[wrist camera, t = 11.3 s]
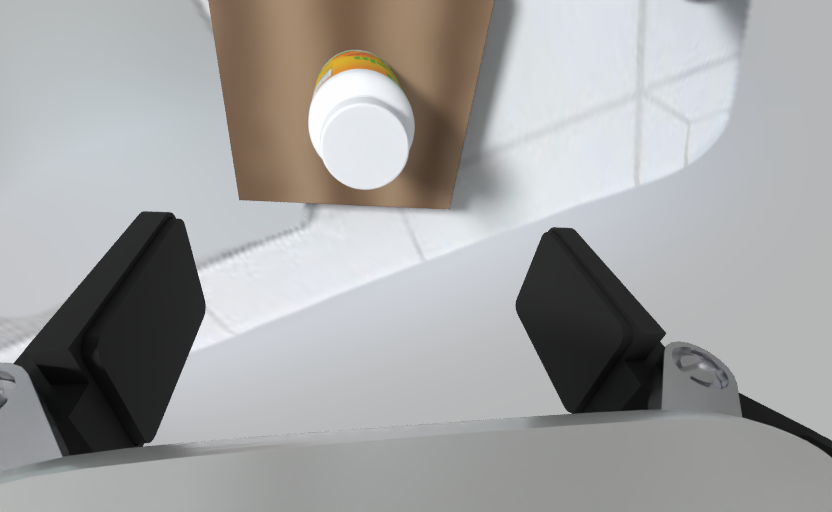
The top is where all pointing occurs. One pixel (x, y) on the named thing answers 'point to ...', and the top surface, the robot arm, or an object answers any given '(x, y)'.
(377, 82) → the supplement bottle
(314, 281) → the top surface
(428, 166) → the walnut base
